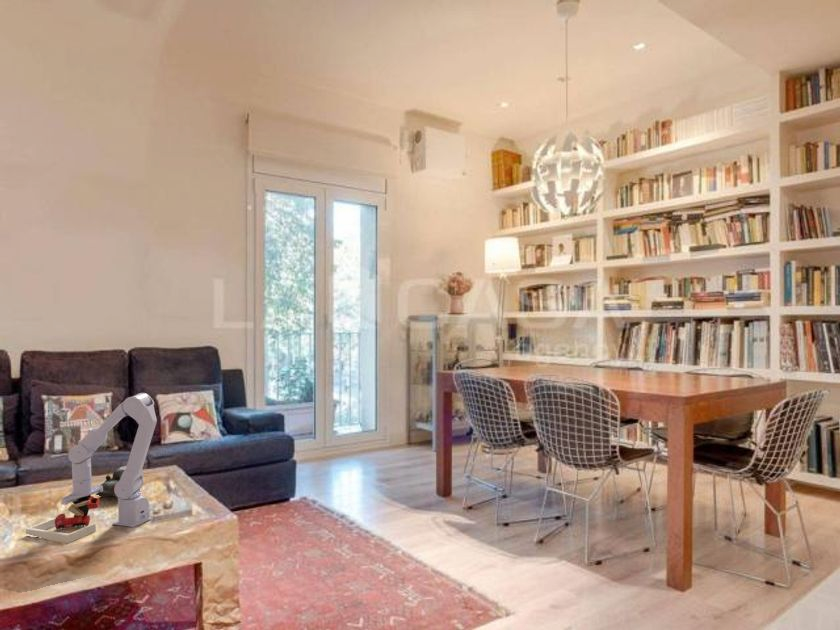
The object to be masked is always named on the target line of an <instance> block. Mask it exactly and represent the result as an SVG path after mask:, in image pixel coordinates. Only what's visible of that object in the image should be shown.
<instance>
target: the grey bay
mask: <svg viewBox="0 0 840 630" xmlns="http://www.w3.org/2000/svg"><path fill="white" fill-rule="evenodd" d="M55 519H56V517H54V518H51V519H48V520H45V521H43V522H40V523H37V524H34V525H33V526H30V527H28V528H25V535H26V534H29V535H33V536H37V537H41V538H44V539H43V540H45V539H47V540H46V541H54V542H58V543H66V544H70V543H72V542H74V541H77V540H79V539H82V538H84V537H86V536H87V535H91V534H92V533H96V527H97V526H96V525H97V524H96V523H91V524H89V525H88V526H84V527H83V528H81V527H80V528H79V529H76V530H73V531H72V532H70V533H66V532H59V531H52V530H49V529H51V528H54V527H56V526H55Z"/></svg>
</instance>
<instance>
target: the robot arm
mask: <svg viewBox="0 0 840 630" xmlns="http://www.w3.org/2000/svg"><path fill="white" fill-rule="evenodd" d="M154 406H155V401H154V400H153V398H152V397H151V396H150V395H149V394H148V393H145V392H140V393H137V394H135V395H133V396H130V397H127V398H125V400H124V401H123V402H121V403H120V404H118V406H117V407H116V408H115V409H114V410H113V411H112V412H111V413H110V415H109V416H108V417H107V418H106V419H105V420H104V421H103V422H102V424H100V426H97V427H96V426H95V427H93V428H90V429H88V430H87V432H86V433H87V434H86V435H85V436H84V437H83V438H82V439H79V440H78V441H77V445H75V446H73V447H70V450H69V451H68V452H67V457H68V460H69V461H70V462H71V475H72V476H71V477H72V478H71V480H72V492H71V493H70V494H68V495H67V496H65V497H63V498H61V499H60V504H61V505H64V506H67V505H69V504H70V503H72V504H73V505H75V504H78V503H81V502H84V501H88V500H89V498H90V497H93V498H95V496H93V495H96V493H98V492H103V486H100V485H96V486H93V479H92V457H93V456H94V454H95V452H96V451H97V449H99V448H100V447H101V445H102V444H103V443H104V442H105V441H106V440H107V439H108V433H109V432H110V431H111V429H113V427H116V425H117V424H118V423H119V422H120V421H121V420H122V419H124V418H125V417H127V416H129V417H130V418H132V419H133V420H135V421H136V423H137V424H138V428H137V431H136V434H135V437H134V439H133V440H134V441H133V442H132V443H133V444H132V447H131V450H130V454H129V456H128V460H127V463H126V465H125V466H126V469H125V471H124V472H123V474H122V475H121V478H120V480H119V482H118V483H117V484H116V485H115V487H114V493H115V495H116V496H117V510H118V513H117V514H118V520H115V521H114V522H112V525H115V526H121V527H122V526H124V527H129V528H135V527H136V526H140V525H141V524H143V523H145V522H148V521H150V520H152V517H150V504H149V499H147V498H146V497H144V496H143V495H142V492H141V489H142V487H143V486H144V473H145V472H144V470H143V467H144V465H145V461H146V459H147V456H148V451H149V448H150V446H151V441H152V438H153V435H154V431H155V429H156V426H157V422H158V419H157V416H156V412H155V411H156V410H155V407H154ZM91 495H92V496H91ZM77 508H78V509H79V510H81V511H82V512H84V516H88V515H89V512H90V509H88V506H87V505H83V506H80V507H77Z"/></svg>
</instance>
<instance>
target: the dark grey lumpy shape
mask: <svg viewBox="0 0 840 630" xmlns="http://www.w3.org/2000/svg"><path fill="white" fill-rule="evenodd" d="M126 466H127V465H123V466H120V467H119V468H117V469H116V470H115V471H113V473H112V477H111V475H110V474H107V475H106V476H105V480H104V482H103V483H101V484H100V485H99V486H103V492H98V493H95V496H96V495H99V496H104V497H115V496H116V495H115V493H114V487H115V485H116V484H117V483H118V482H119V480H120V478H121V475H122V474H123V472H124V471H125V469H126ZM99 496H98V497H99ZM116 497H117V496H116ZM117 498H118V497H117Z"/></svg>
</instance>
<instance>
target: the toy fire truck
mask: <svg viewBox="0 0 840 630" xmlns="http://www.w3.org/2000/svg"><path fill="white" fill-rule="evenodd" d="M93 497H94V496H93ZM93 497H90V498H89V500H88V501H84V502H81V503H78V504H75V505H74V503H72V504H71V505H70V506H69V507H68V509H67V511H68V512H70V513H71V514H74V515H73V516H72V517H66V514H65V513H59V514H57V516H56V517H55V518H56V519H55V526H54V527H55V529H56V530H59V531H63V530H64V529H71V528H74V529H78V528H80V529H81V528H84V527H86V526H88V525H90V521H91V515H89V514H88V515H87V516H84V512H82V511H81V510H79V509H78V508H77V507H80V506H83V505H87V506H88V509H89V510H92V509H93V510H94V509H98V508H99V505H100V503H101V502H100V497H94V498H93Z"/></svg>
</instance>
